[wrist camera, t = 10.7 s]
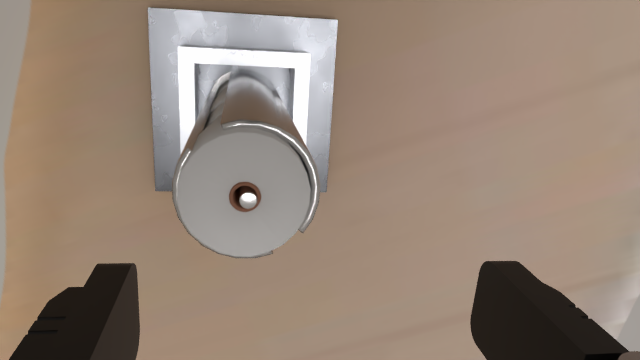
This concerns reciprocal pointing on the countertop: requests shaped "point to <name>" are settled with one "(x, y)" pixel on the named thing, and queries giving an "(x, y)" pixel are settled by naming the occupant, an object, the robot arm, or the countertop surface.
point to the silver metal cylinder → (245, 171)
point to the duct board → (233, 54)
